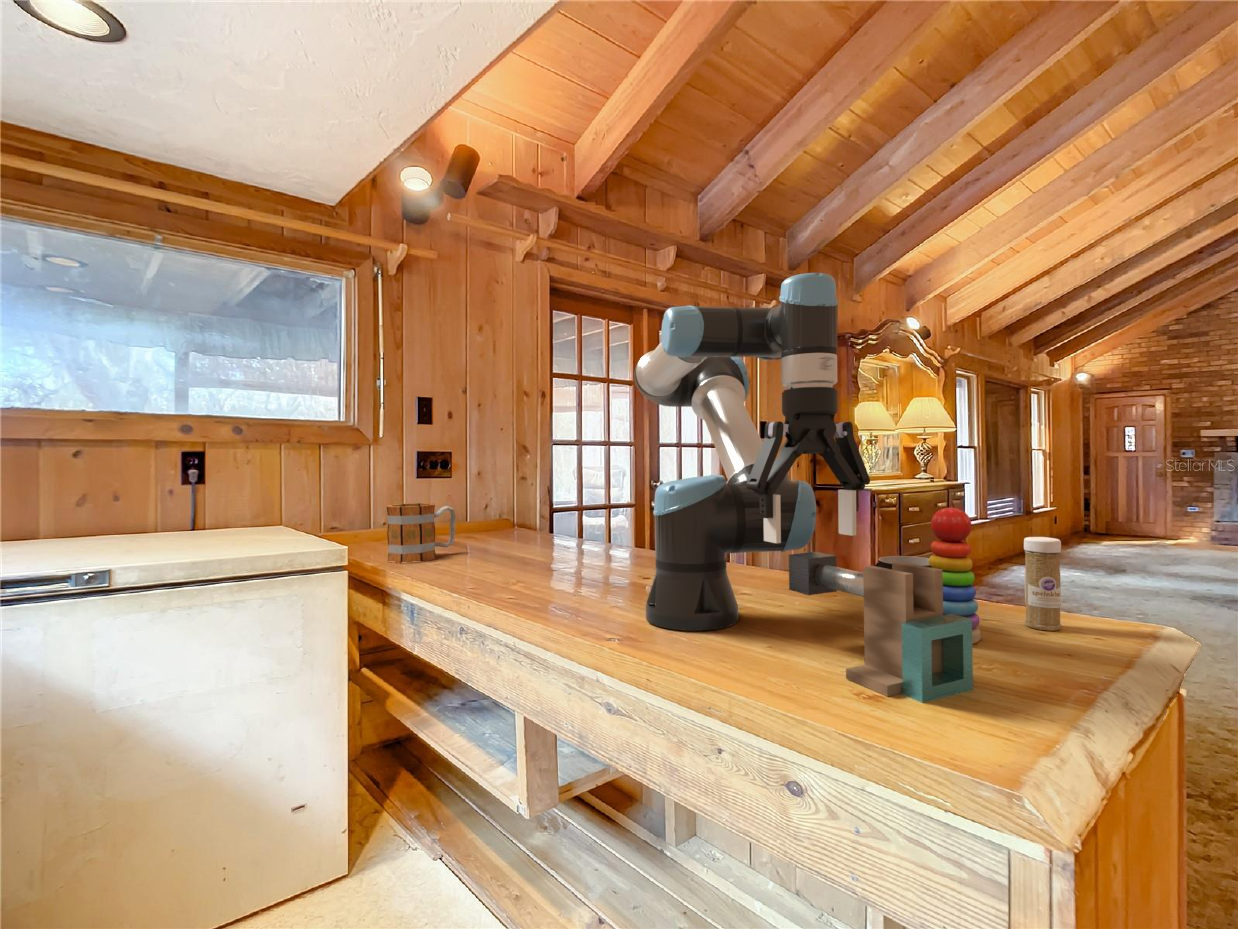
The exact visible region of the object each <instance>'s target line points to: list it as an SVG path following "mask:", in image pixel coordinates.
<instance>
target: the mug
mask: <svg viewBox="0 0 1238 929" xmlns="http://www.w3.org/2000/svg"><path fill="white" fill-rule="evenodd" d="M435 508H436V505H435V503H433V502H432V503H431V502H430V503H426V502H419V503H418V502H415V503H414V502H413V503H399V504H398V503H397V504H387V505H386V512H387V532H386V534H387V543H388V556H387V562H388V561H395V562H412V561H424V562H428V561H431V560H436V559H437V555H436V551H435V550H436V549H435V548H436V547H441V548H448V547H450V546H452V545H453V543H454V540H455V536H456V535H455V534H456V517H457V516H456V513H455V509H454V508H453V507H452V506H451V507H450V506H448V505H444V506H442V507H440V508H439V509H438V510H437V512H436V513H435ZM446 510H448V511H449V514H450V522H449V523H450V524H449V539H448V542H446V543H444V542H441V541H440V542H436V541H435V540H436V527H435V525H436V524H435V518H439V517H440V516H441V515H442V514H443V513H444V512H445V511H446Z"/></svg>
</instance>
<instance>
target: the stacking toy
mask: <svg viewBox="0 0 1238 929" xmlns="http://www.w3.org/2000/svg"><path fill="white" fill-rule="evenodd" d="M931 518H932V519H931V522H930V524H931V525H930V526H931V530H932V533H933V534H934V536H935V537H936V538H938V539H936V540H933V541H932V542H931V544H930V550H931V552H932V553H933V554H932V555H931V556H929V564H930V566H931V567H932V568H936V569H942V572H943V615H948V614H954V615H958V616H962V617H966V618H970V619H972V645H973V644H976V643H978V642H979V641H980V640H981V638H982V631H981V630H980V628H979V627H978V626H979V624H980V618H979V615H978V614H977V613H976V612H977V611H978V610H979V603H978V602H977V600H975V599H974V598H975V596H976V595H977V590H976V588H975V587H974V586H973V584H974V582H975V578H976V577H975V574H974V572H973V571H971V570H972V569H973V561H972V559H970V558H969V557H968V556H969V555H970V554H971V553H972V548H971V545H970V544H969V543H968V542H966V541H964V540H966V539H967V538H968V537H969V536H970V533H971V531H972V521H971V518H970V516H969V515H968V514H967V513H966V512H965V511H964V510H961V509H960V508H957V507H945V508H941V509H939V510H938V511H936V512H935V513H934V514H933V516H932V517H931Z"/></svg>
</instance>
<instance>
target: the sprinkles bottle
mask: <svg viewBox="0 0 1238 929" xmlns="http://www.w3.org/2000/svg"><path fill="white" fill-rule="evenodd" d="M1023 550H1024V554H1025V555H1024V556H1025V559H1024V560H1025V564H1024V565H1025V566H1024V568H1025V569H1024V604H1025V621H1024V624H1025V626H1027V627H1028V628H1031V629H1034V630H1035V629H1036V630H1040V631H1051V632H1052V631H1059V630H1062V624H1061V606H1062V602H1061V600H1062V598H1061V597H1062V594H1061V592H1062V590H1061V587H1062V586H1061V568H1060V567H1061V565H1060V564H1061V563H1060V559H1061V558H1060V555H1061V552H1062V541H1061V540H1060V539H1059V538H1054V537H1047V536H1028V537H1024V539H1023Z"/></svg>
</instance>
